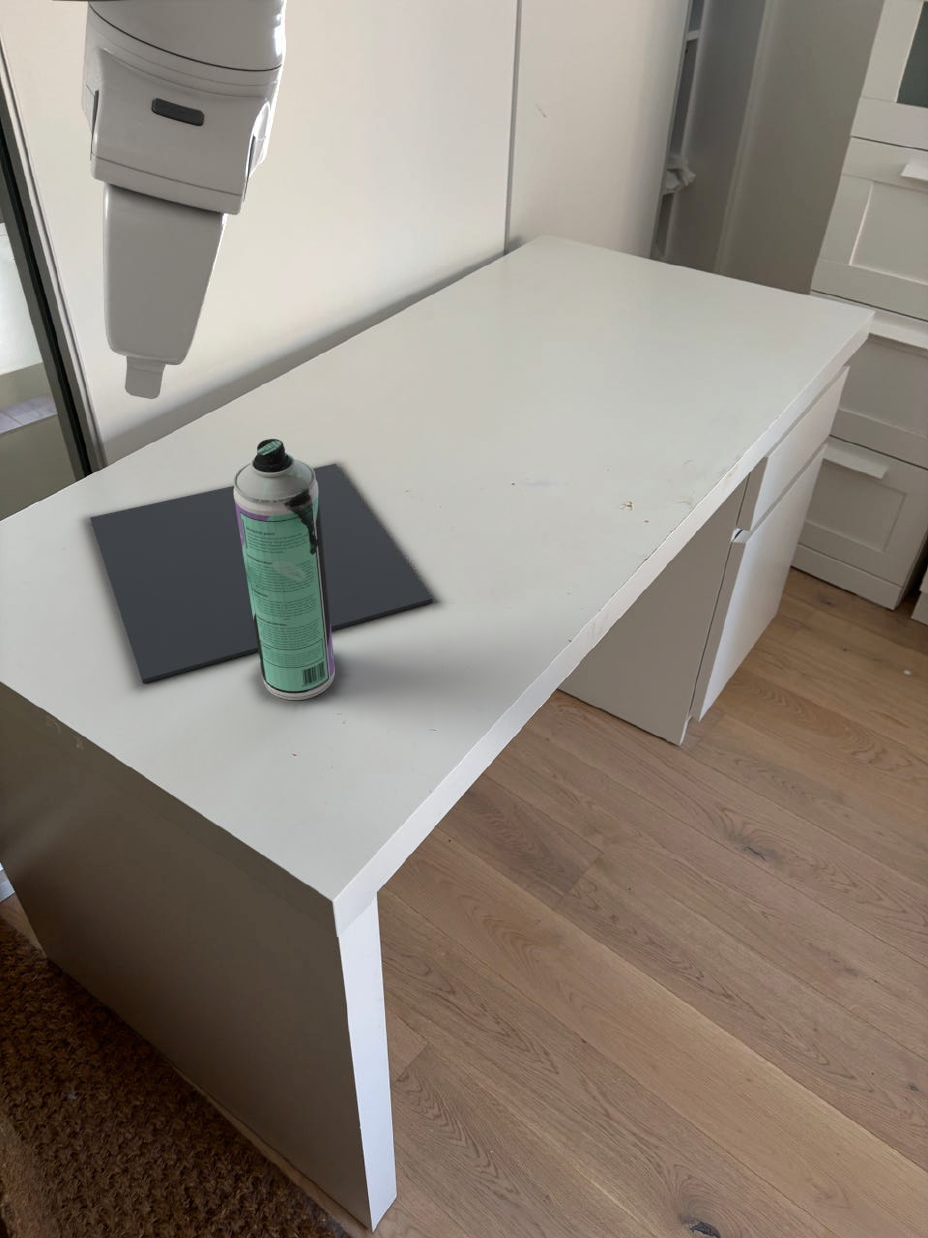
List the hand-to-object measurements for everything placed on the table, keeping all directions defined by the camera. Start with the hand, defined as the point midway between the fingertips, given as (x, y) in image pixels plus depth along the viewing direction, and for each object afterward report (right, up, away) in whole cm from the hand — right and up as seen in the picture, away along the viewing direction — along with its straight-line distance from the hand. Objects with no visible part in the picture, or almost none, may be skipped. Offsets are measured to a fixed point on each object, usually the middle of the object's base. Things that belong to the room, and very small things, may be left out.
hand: (148, 345), depth 56 cm
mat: (-1, -10, +30) cm, 32 cm away
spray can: (+5, -20, +19) cm, 28 cm away
